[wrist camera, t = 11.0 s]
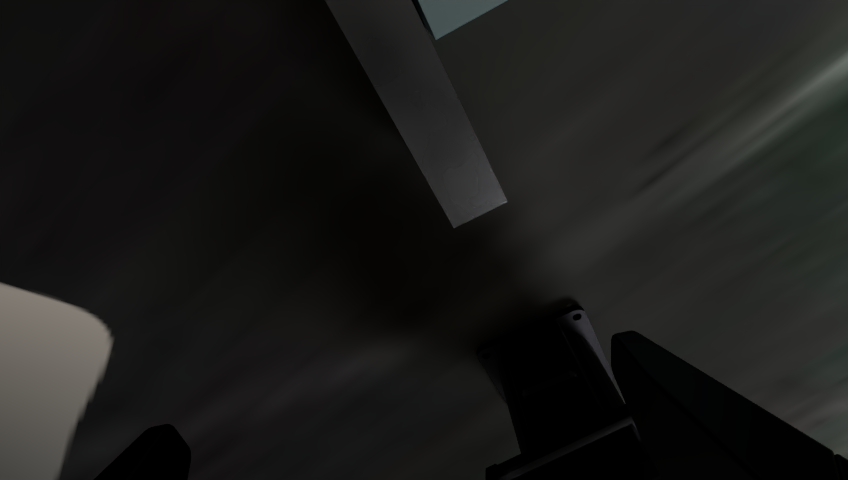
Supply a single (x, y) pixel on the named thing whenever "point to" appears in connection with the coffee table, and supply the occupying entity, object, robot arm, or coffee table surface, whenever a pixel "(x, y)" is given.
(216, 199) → the coffee table surface
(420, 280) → the coffee table surface
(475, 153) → the corner stop
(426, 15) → the socket block
